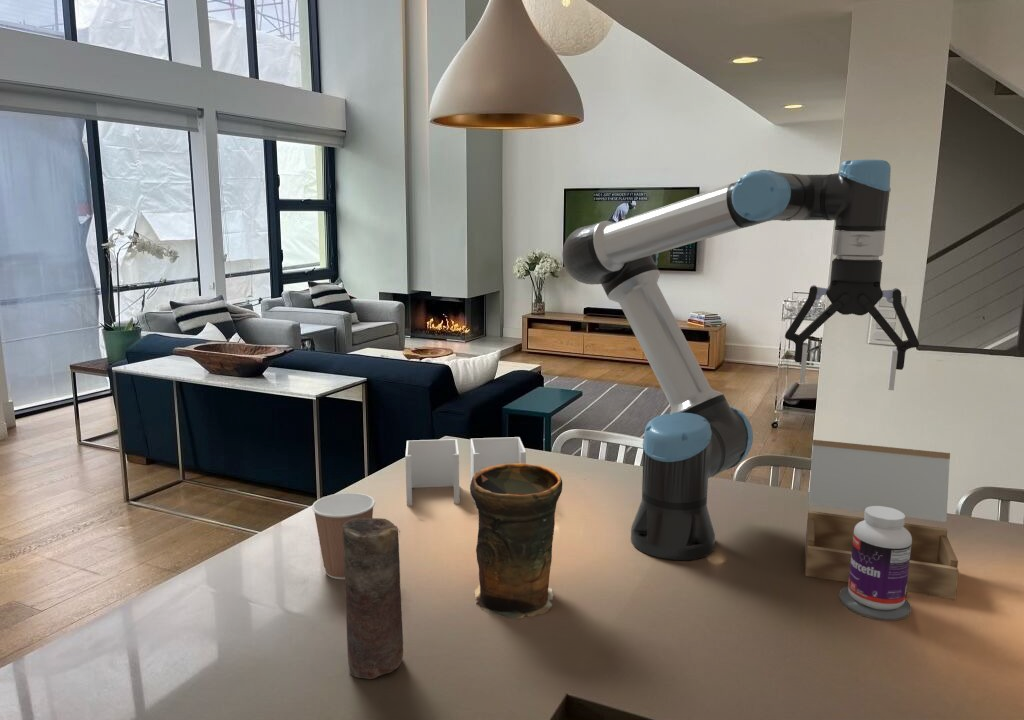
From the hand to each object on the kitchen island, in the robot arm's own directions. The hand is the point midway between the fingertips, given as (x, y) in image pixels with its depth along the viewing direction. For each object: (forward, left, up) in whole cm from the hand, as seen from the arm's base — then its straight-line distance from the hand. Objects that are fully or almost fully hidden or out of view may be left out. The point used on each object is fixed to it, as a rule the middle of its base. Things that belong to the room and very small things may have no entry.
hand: (845, 385), depth 126 cm
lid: (+7, +6, -18) cm, 20 cm away
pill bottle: (+6, -14, -31) cm, 35 cm away
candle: (-58, -56, -32) cm, 87 cm away
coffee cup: (-77, -34, -32) cm, 90 cm away
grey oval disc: (+6, -14, -31) cm, 35 cm away
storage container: (-73, +6, -32) cm, 80 cm away
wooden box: (+7, -2, -31) cm, 32 cm away
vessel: (-47, -32, -32) cm, 65 cm away
